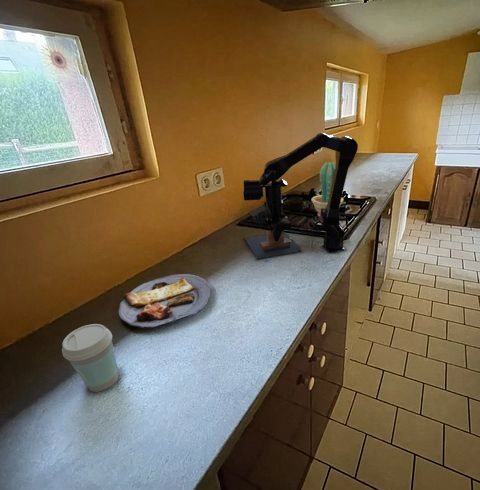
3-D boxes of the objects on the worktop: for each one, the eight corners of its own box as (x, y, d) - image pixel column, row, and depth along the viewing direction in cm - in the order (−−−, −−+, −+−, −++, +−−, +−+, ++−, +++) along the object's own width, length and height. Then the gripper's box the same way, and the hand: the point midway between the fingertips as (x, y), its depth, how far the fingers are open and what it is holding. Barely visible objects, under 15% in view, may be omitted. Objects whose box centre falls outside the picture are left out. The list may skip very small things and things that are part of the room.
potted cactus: (321, 222, 139) (323, 167, 128) (305, 212, 152) (305, 161, 140) (349, 216, 145) (353, 163, 133) (331, 207, 157) (333, 158, 146)
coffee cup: (92, 366, 67) (73, 323, 61) (131, 362, 67) (116, 320, 62) (72, 400, 59) (48, 355, 54) (117, 395, 60) (98, 350, 54)
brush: (287, 243, 117) (287, 227, 114) (291, 247, 114) (290, 230, 111) (260, 248, 114) (259, 231, 111) (263, 253, 111) (262, 235, 108)
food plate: (122, 343, 73) (118, 332, 71) (117, 296, 91) (114, 286, 90) (221, 311, 83) (219, 300, 81) (199, 274, 101) (197, 265, 99)
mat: (283, 232, 130) (283, 231, 130) (301, 251, 113) (301, 250, 113) (244, 239, 126) (244, 238, 125) (257, 259, 109) (257, 258, 108)
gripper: (245, 195, 111) (248, 234, 118) (259, 209, 95) (261, 254, 103) (273, 191, 114) (275, 229, 121) (291, 205, 98) (292, 248, 106)
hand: (275, 239), depth 113 cm, fingers closed on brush, 2 cm apart
